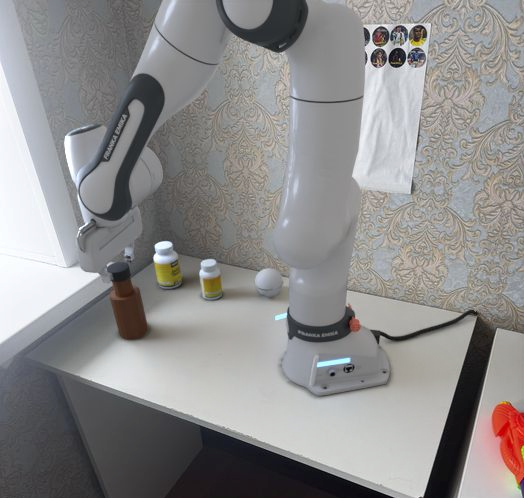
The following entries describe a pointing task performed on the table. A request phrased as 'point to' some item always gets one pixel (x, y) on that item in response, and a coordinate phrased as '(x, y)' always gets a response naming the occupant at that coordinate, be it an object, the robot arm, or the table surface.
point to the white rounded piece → (269, 282)
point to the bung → (119, 271)
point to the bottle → (128, 310)
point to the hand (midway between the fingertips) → (119, 270)
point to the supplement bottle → (210, 280)
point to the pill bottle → (167, 265)
